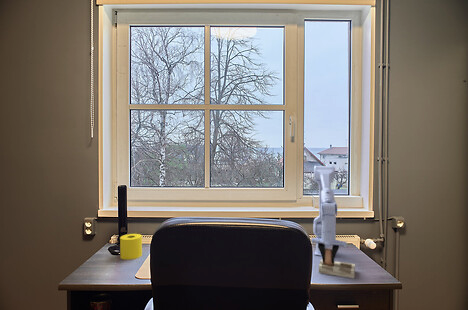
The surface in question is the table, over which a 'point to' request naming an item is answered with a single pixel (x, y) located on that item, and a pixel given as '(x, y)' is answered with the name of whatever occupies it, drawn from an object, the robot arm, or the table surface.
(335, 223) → the robot arm
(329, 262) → the dowel
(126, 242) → the tape roll
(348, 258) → the table surface
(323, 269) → the bore block
